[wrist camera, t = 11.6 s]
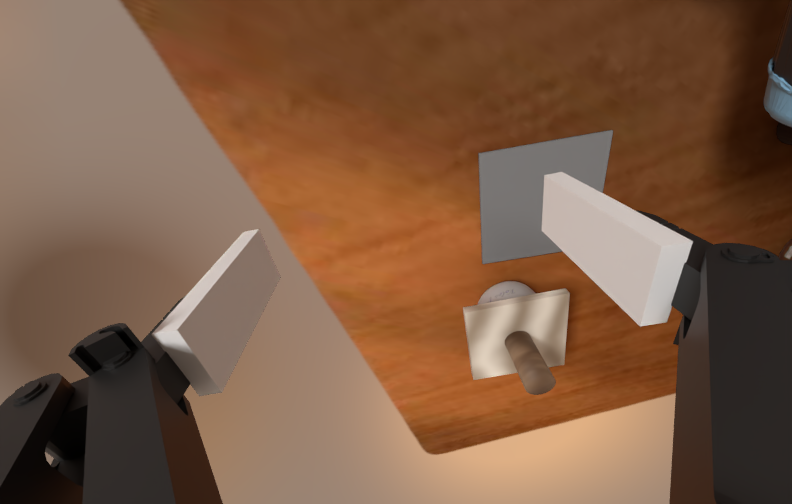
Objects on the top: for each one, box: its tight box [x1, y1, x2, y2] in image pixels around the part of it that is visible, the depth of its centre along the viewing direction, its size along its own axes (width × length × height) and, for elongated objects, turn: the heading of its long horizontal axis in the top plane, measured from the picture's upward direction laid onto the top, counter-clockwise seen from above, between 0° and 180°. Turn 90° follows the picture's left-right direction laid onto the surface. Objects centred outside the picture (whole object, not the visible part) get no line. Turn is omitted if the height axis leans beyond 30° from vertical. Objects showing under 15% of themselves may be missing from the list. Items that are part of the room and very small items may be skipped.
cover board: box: [463, 288, 570, 395], centre depth 45 cm, size 15×15×9 cm
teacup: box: [478, 281, 536, 305], centre depth 53 cm, size 14×11×8 cm
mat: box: [479, 130, 613, 264], centre depth 47 cm, size 18×18×1 cm
